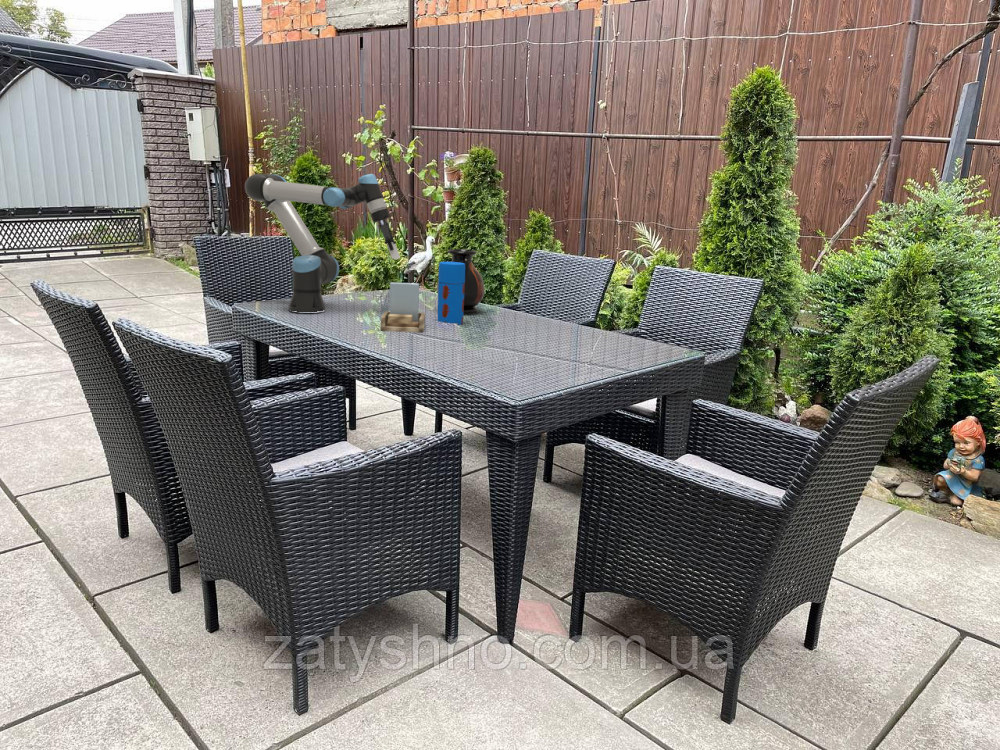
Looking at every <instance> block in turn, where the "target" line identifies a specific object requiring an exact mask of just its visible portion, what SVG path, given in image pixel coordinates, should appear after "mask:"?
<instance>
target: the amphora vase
mask: <svg viewBox="0 0 1000 750" xmlns="http://www.w3.org/2000/svg"><path fill="white" fill-rule="evenodd" d="M447 253H448V254H450V255H451V258H452V259H451V262H460V263H465V289H464V315H473V314H476V313H477V312H478V311H479V308H478V307H477V306H478V305H479V304H480V303H481V301H482V300H483V299H484V296H485V284H484V283H485V282H484V280H483V277H482V276H483V275H482V274H481V273H480V272H479V270H478V269H477V268H476V267H475V265H474V263H473V261H472V259H473V256H474V255H476V254H477V251H476V250H474V249H473V250H472V249H464V248H462V249H461V248H452V249H451V248H450V249H448V250H447ZM438 282H439V281H437V283H438ZM436 292H437V294H438V284H437V286H436Z"/></svg>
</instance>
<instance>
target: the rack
mask: <svg viewBox="0 0 1000 750" xmlns="http://www.w3.org/2000/svg"><path fill="white" fill-rule="evenodd" d="M389 314H390V310H389V311H388V310H385V311H384V313H382V315H381V317H380V331H382V332H404V333H424V329H425V326H426V312H419V313H418V322H419V328H415V327H391V326H387V321H388V315H389Z"/></svg>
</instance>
